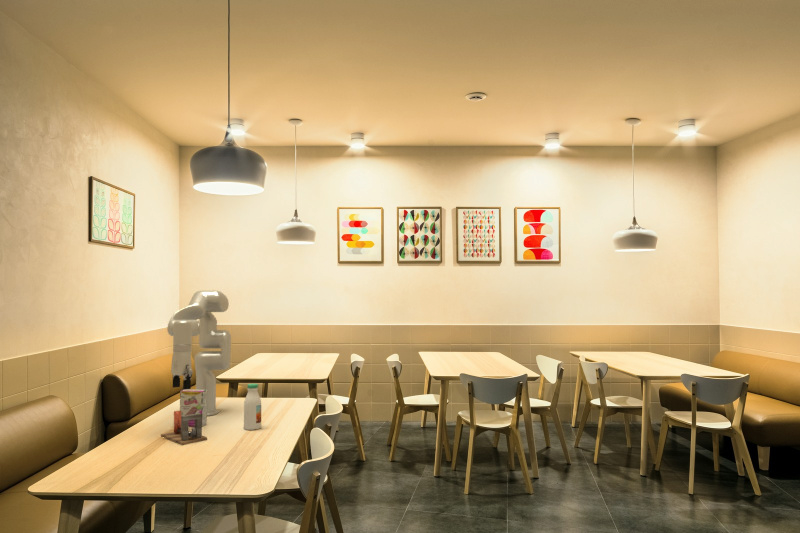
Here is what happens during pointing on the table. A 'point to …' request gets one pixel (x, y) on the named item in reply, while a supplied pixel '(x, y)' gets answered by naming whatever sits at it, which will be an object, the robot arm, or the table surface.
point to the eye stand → (183, 436)
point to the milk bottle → (252, 408)
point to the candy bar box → (194, 404)
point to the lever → (178, 425)
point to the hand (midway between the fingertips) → (181, 388)
